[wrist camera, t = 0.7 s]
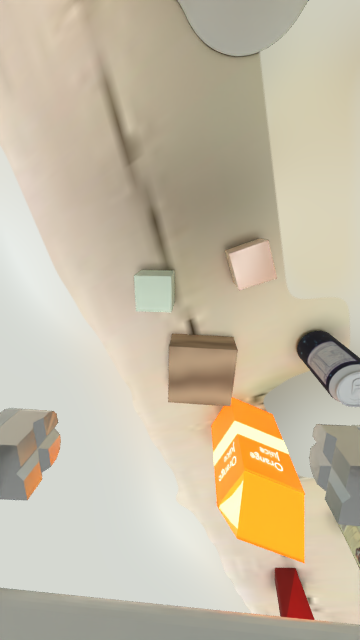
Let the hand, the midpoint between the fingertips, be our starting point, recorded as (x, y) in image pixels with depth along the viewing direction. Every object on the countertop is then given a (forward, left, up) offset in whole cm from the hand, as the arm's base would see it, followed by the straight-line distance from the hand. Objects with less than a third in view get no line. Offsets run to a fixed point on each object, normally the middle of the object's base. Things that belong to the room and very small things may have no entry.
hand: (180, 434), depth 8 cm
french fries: (+73, +26, -32) cm, 84 cm away
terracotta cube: (-2, +8, -31) cm, 32 cm away
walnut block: (+15, +2, -32) cm, 35 cm away
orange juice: (+27, +10, -32) cm, 43 cm away
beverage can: (+11, +20, -32) cm, 39 cm away
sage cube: (+2, -5, -31) cm, 32 cm away
